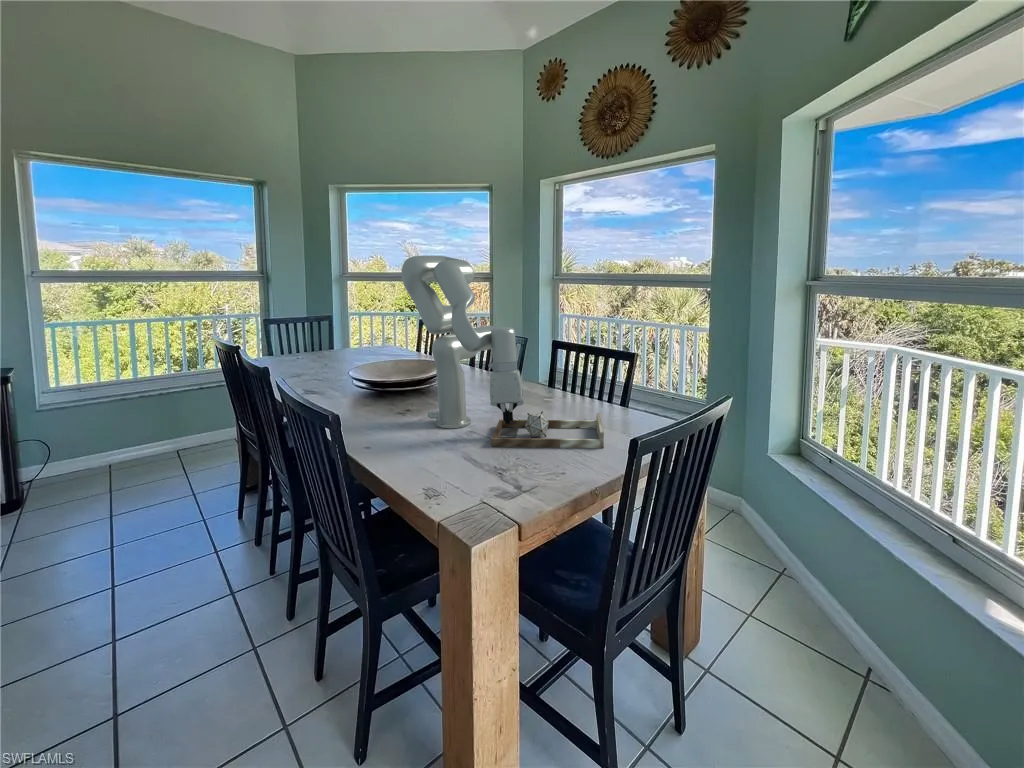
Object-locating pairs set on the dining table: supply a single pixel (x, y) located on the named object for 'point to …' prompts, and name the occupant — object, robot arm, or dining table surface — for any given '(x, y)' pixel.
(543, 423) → the game die
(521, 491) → the dining table surface
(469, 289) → the robot arm
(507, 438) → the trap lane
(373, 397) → the dining table surface
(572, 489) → the dining table surface
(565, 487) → the dining table surface
